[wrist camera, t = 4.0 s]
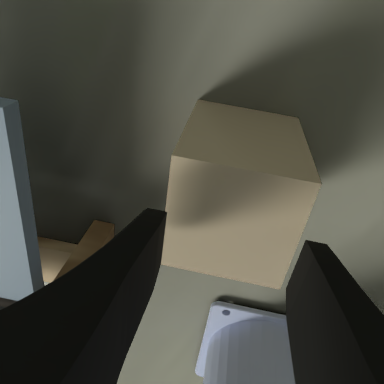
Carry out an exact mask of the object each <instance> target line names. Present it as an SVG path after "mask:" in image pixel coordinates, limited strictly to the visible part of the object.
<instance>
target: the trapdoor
mask: <svg viewBox="0 0 384 384" xmlns="http://www.w3.org/2000/svg"><path fill="white" fill-rule="evenodd" d="M42 287H44V281H43V274H42V266H41V259H40V252H39V245H38V238H37V231H36V224H35V217H34V209H33V202H32V195H31V188H30V181H29V174H28V167H27V159H26V152H25V145H24V138H23V131H22V124H21V117H20V110H19V102H18V100H14V99H8V98H3V97H0V297H1V298H6V299H10V300H15V301H19V300H21V299H23V298H24V297H26V296H28V295H30V294H32V293H33V292H35V291H37V290H39V289H41V288H42ZM3 308H5V307H2V306H0V310H1V309H3Z"/></svg>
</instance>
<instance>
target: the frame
mask: <svg viewBox="0 0 384 384" xmlns="http://www.w3.org/2000/svg"><path fill="white" fill-rule="evenodd" d="M37 238H38V245H39V252H40V259H41V266H42V274H43V281H45V282H50V283H51V282H52V281H54V280H56V279H57V278H59V277H61V276H62V275H64V274H65V273H67V272H68V271H70V270H71V269H73V268H74V267H76V266H77V265H79V264H80V263H81V262H83V261H84V260H85V259H87V258H88V257H90V256H91V255H92V254H94V253H95V252H96V251H98V250H99V249H100V248H102V247H103V246H104V245H105V244H107V243H108V242H109V241H110V240H111V239H113V238H114V224H112V223H107V222H102V221H97V220H94V221H93V223H92V224H91V226H90V227H89V229H88V230H87V232H86V233H85V235H84V236H83V238H82V239H81V241H80V242H79V243H78V245H77V244H72V243H67V242H63V241H58V240H53V239H48V238H44V237H39V236H37ZM15 302H17V301H15V300H10V299H6V298H1V297H0V306H2V307H7V306H9V305H11V304H13V303H15Z"/></svg>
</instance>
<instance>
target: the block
mask: <svg viewBox="0 0 384 384" xmlns="http://www.w3.org/2000/svg"><path fill="white" fill-rule="evenodd" d="M321 185H322V183H321V180H320V177H319V175H318V172H317V169H316V166H315V163H314V161H313V158H312V155H311V152H310V149H309V147H308V144H307V141H306V138H305V135H304V133H303V130H302V127H301V124H300V121H299V119H298V118H297V117H292V116H286V115H281V114H275V113H270V112H264V111H259V110H253V109H248V108H242V107H237V106H231V105H226V104H220V103H215V102H209V101H204V100H198V101H197V103H196V105H195V107H194V109H193V111H192V114H191V116H190V118H189V120H188V122H187V124H186V126H185V128H184V130H183V132H182V135H181V137H180V139H179V141H178V143H177V145H176V147H175V149H174V151H173V153H172V156H171V165H170V174H169V182H168V191H167V200H166V208H165V212H167V218H166V226H165V235H164V243H163V252H162V260H161V265H166V266H170V267H175V268H180V269H185V270H189V271H194V272H199V273H204V274H208V275H213V276H218V277H223V278H227V279H232V280H237V281H242V282H246V283H251V284H256V285H261V286H265V287H270V288H275V289H280V288H281V286H282V283H283V281H284V278H285V276H286V273H287V271H288V268H289V266H290V263H291V261H292V258H293V255H294V253H295V250H296V248H297V245H298V243H299V240H300V238H301V235H302V233H303V230H304V228H305V225H306V223H307V220H308V218H309V215H310V213H311V210H312V208H313V205H314V203H315V200H316V198H317V195H318V193H319V190H320V188H321Z"/></svg>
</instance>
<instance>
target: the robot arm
mask: <svg viewBox="0 0 384 384" xmlns="http://www.w3.org/2000/svg"><path fill="white" fill-rule="evenodd" d="M166 218H167V212H165V211H160V210H155V209H150V208H147V209H145V210H144V211H143V212H142V213H141V214H140V215H139V216H137V217H136V218H135V219H134V220H133V221H132V222H131V223H130V224H129V225H128V226H127V227H125V228H124V229H123V230H122V231H121V232H120V233H119V234H117V235H116V236H115V237H114V238H113V239H111V240H110V241H109V242H108V243H107V244H105V245H104V246H103V247H102V248H100V249H99V250H98V251H96V252H95V253H94V254H92V255H91V256H90V257H88V258H87V259H85V260H84V261H83V262H81V263H80V264H79V265H77V266H76V267H74V268H73V269H71V270H70V271H68V272H67V273H65V274H64V275H62V276H61V277H59V278H57V279H56V280H54V281H52V282H51V283H49V284H48V285H46V286H44V287H42V288H41V289H39V290H37V291H35V292H33V293H32V294H30V295H28V296H26V297H24V298H23V299H21V300H19V301H17V302H15V303H13V304H11V305H9V306H7V307H5V308H3V309H1V310H0V384H117V380H118V377H119V374H120V371H121V369H122V366H123V363H124V360H125V358H126V355H127V353H128V350H129V348H130V346H131V343H132V341H133V338H134V336H135V334H136V331H137V329H138V326H139V324H140V322H141V319H142V317H143V314H144V312H145V309H146V307H147V305H148V302H149V300H150V297H151V295H152V292H153V289H154V286H155V282H156V279H157V275H158V272H159V268H160V265H161V260H162V252H163V243H164V235H165V226H166ZM195 373H196V374H197V375H198V376H201V377H204V379H203V384H384V315H383V314H382V313H381V312H380V310H379V309H378V308H377V307H376V306H375V305H374V303H373V302H372V301H371V300H370V298H369V297H368V296H367V295H366V294H365V292H364V291H363V290H362V289H361V287H360V286H359V285H358V284H357V282H356V281H355V280H354V278H353V277H352V276H351V275H350V273H349V272H348V271H347V269H346V268H345V267H344V266H343V264H342V263H341V262H340V260H339V259H338V258H337V256H336V255H335V254H334V253H333V251H332V250H331V249H330V248H329V246H328V245H327V244H323V243H318V242H313V241H308V240H306V241H305V243H304V246H303V248H302V251H301V253H300V256H299V258H298V261H297V263H296V265H295V268H294V270H293V273H292V275H291V278H290V280H289V283H288V285H287V288H286V315H282V314H277V313H273V312H268V311H263V310H259V309H254V308H249V307H245V306H240V305H235V304H231V303H226V302H221V301H215V302H213V303H212V304H211V307H210V311H209V315H208V319H207V323H206V327H205V331H204V335H203V339H202V343H201V347H200V351H199V355H198V359H197V364H196V368H195Z"/></svg>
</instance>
